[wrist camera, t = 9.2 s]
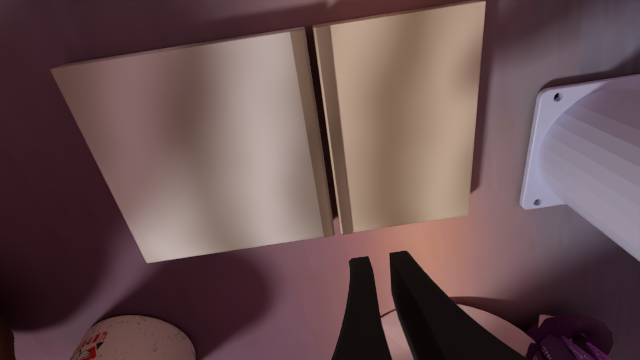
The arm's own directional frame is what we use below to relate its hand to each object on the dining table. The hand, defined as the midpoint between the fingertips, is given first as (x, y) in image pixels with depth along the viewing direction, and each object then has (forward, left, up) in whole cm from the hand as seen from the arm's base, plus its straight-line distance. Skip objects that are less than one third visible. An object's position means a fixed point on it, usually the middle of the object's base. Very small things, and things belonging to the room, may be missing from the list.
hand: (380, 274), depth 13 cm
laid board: (-3, -2, -9) cm, 10 cm away
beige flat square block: (+7, -2, -9) cm, 12 cm away
